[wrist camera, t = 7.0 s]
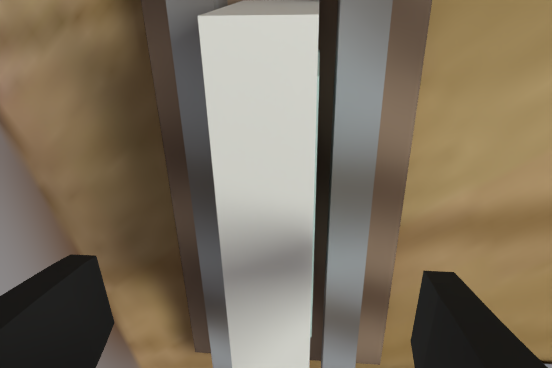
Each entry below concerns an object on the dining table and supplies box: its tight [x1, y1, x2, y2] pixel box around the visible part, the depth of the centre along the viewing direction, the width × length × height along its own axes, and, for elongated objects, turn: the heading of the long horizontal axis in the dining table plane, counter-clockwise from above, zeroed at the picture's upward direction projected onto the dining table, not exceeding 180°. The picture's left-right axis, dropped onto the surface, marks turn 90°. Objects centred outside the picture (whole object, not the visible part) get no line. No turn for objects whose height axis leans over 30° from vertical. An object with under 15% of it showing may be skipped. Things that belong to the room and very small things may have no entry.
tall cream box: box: [198, 0, 320, 368], centre depth 14 cm, size 12×3×6 cm, turn 1°
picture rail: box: [141, 0, 432, 368], centre depth 17 cm, size 22×10×3 cm, turn 1°
